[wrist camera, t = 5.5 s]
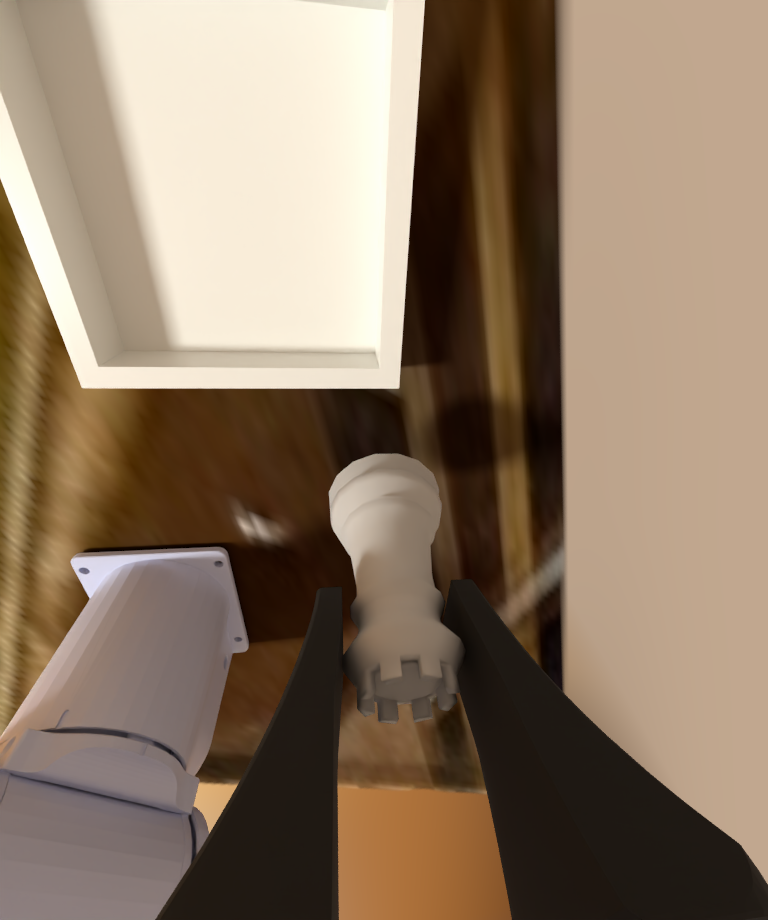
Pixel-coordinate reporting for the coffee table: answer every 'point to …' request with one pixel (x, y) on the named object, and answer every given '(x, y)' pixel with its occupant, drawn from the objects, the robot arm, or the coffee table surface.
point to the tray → (216, 184)
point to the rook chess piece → (394, 587)
